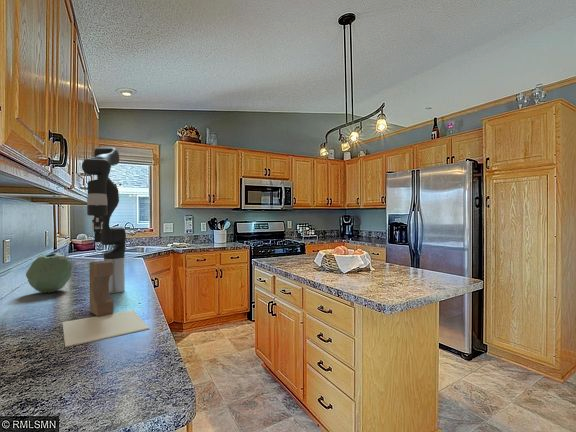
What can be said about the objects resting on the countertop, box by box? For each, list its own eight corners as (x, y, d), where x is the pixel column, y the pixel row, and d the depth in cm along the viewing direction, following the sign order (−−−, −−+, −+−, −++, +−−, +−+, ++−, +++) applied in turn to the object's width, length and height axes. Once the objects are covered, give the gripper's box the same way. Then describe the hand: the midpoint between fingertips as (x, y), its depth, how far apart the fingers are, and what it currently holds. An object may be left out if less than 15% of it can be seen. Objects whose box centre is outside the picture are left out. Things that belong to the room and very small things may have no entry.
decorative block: (113, 313, 118) (113, 262, 119) (97, 317, 114) (96, 263, 115) (105, 309, 126) (105, 260, 127) (89, 312, 122) (89, 262, 123)
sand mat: (62, 323, 109) (62, 322, 109) (133, 310, 123) (133, 309, 123) (65, 347, 89) (65, 346, 89) (149, 329, 103) (149, 327, 103)
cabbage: (25, 292, 156) (25, 253, 156) (70, 286, 168) (70, 250, 168) (26, 298, 144) (26, 256, 144) (74, 291, 156) (74, 252, 157)
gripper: (87, 205, 137) (88, 241, 137) (86, 203, 125) (86, 243, 124) (107, 205, 141) (107, 240, 140) (107, 203, 128) (108, 242, 128)
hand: (97, 241), depth 132 cm, fingers open, 8 cm apart
